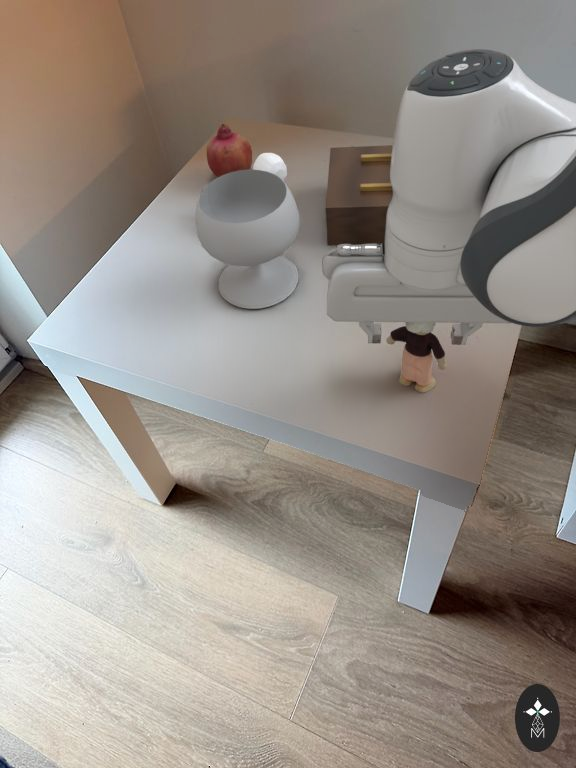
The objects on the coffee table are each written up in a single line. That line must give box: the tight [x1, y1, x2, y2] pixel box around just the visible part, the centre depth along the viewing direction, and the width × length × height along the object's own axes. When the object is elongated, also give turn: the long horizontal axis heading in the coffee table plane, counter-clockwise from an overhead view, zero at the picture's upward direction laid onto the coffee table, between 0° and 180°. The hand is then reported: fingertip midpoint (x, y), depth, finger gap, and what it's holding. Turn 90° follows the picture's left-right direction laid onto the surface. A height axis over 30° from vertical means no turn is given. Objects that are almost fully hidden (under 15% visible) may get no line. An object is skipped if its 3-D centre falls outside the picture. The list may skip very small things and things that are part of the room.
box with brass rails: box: [325, 144, 393, 246], centre depth 85 cm, size 22×16×8 cm
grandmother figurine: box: [386, 322, 448, 394], centre depth 63 cm, size 8×4×13 cm, turn 65°
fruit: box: [206, 123, 253, 178], centre depth 94 cm, size 8×8×10 cm
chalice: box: [194, 169, 300, 310], centre depth 75 cm, size 14×14×15 cm
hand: (415, 339), depth 62 cm, fingers open, 8 cm apart
